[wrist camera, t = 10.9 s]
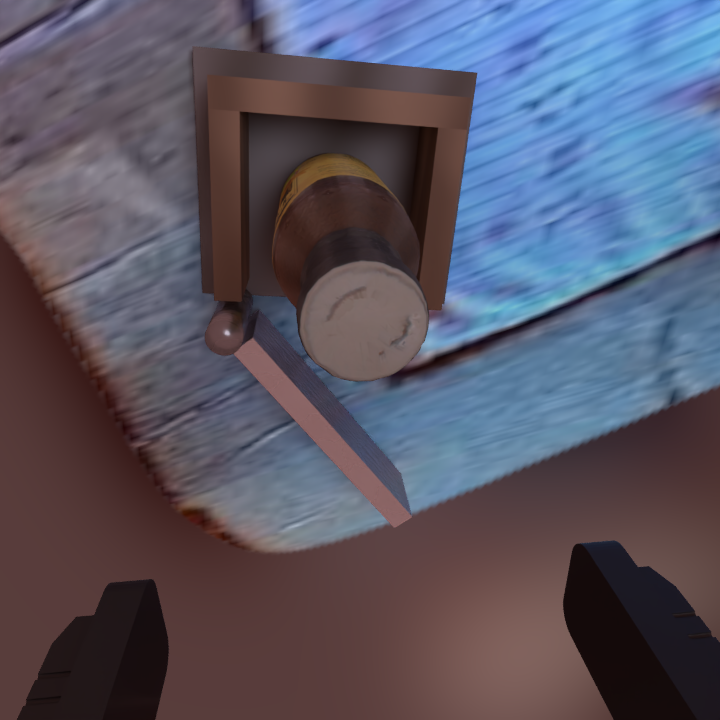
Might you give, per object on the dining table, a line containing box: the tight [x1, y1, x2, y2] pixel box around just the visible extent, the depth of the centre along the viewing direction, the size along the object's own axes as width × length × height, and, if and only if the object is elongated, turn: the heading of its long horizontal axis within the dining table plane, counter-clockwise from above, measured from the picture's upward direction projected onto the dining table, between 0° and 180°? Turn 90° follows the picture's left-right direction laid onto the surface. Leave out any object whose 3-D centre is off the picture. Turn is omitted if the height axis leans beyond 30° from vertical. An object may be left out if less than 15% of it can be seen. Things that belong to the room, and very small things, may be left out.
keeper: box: [205, 289, 412, 528], centre depth 36 cm, size 19×2×6 cm, turn 36°
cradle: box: [193, 46, 477, 310], centre depth 32 cm, size 16×14×6 cm
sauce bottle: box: [272, 153, 429, 381], centre depth 25 cm, size 6×6×20 cm
